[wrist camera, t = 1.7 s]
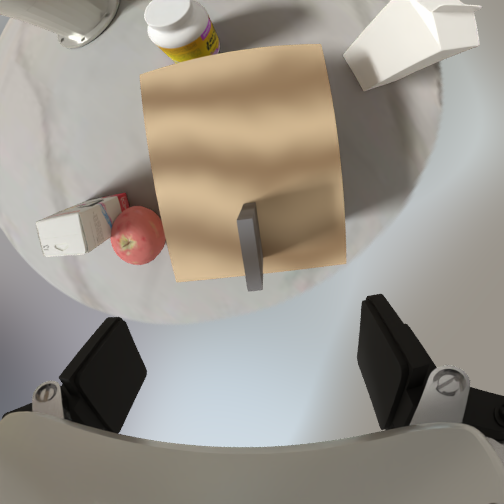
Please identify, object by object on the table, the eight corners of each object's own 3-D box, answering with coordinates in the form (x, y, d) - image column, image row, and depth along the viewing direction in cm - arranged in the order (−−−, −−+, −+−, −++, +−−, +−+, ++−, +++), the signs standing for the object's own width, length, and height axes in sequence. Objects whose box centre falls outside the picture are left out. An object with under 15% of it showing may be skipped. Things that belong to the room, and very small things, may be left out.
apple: (154, 261, 39) (132, 285, 31) (119, 228, 37) (90, 246, 30) (183, 226, 37) (164, 244, 29) (146, 191, 35) (118, 201, 28)
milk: (341, 55, 28) (414, -29, 7) (376, 45, 27) (461, -24, 6) (363, 92, 29) (463, 40, 9) (397, 81, 28) (502, 38, 8)
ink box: (128, 191, 36) (80, 209, 24) (133, 225, 37) (90, 253, 26) (83, 200, 36) (33, 220, 25) (89, 231, 38) (42, 258, 27)
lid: (143, 76, 20) (106, 57, 13) (319, 47, 18) (337, 14, 12) (178, 278, 26) (155, 316, 20) (344, 260, 25) (367, 295, 18)
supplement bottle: (221, 67, 29) (199, 27, 17) (173, 74, 30) (132, 43, 18) (220, 27, 27) (201, -21, 15) (173, 35, 27) (137, -6, 15)
